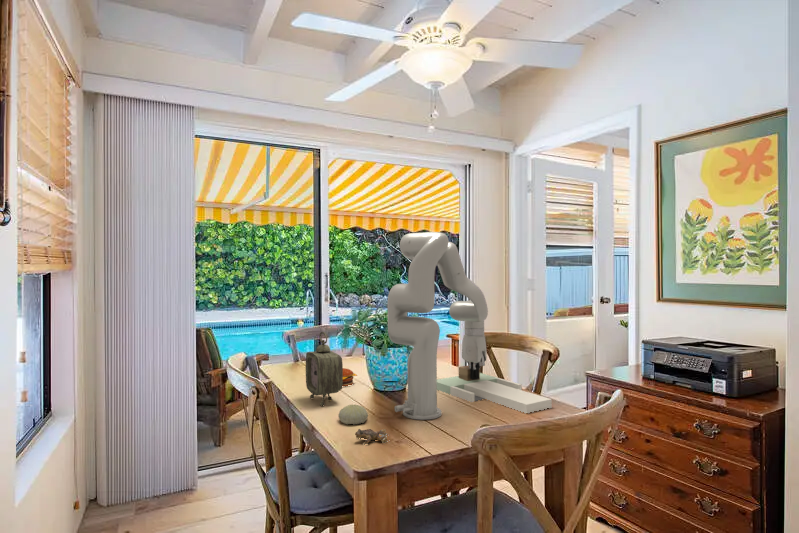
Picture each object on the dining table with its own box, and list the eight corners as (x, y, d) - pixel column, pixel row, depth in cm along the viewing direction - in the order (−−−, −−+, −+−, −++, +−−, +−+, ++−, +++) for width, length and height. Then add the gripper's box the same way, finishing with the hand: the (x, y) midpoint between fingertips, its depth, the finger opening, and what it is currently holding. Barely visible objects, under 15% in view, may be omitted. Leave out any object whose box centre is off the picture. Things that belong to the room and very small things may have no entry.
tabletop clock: (305, 398, 179) (305, 330, 179) (329, 395, 184) (328, 328, 184) (319, 408, 167) (319, 335, 166) (344, 404, 171) (343, 333, 171)
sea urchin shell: (342, 422, 147) (338, 398, 152) (339, 434, 152) (336, 411, 158) (371, 419, 149) (367, 396, 155) (367, 431, 155) (363, 408, 160)
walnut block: (467, 381, 192) (467, 369, 192) (458, 377, 198) (458, 366, 198) (479, 379, 195) (479, 368, 195) (470, 376, 201) (470, 365, 201)
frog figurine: (362, 452, 129) (362, 438, 129) (346, 438, 140) (346, 424, 140) (401, 445, 134) (401, 431, 134) (383, 431, 145) (383, 418, 145)
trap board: (512, 417, 157) (512, 407, 157) (431, 387, 194) (431, 380, 194) (564, 404, 170) (564, 396, 170) (479, 379, 207) (479, 372, 207)
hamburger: (340, 381, 206) (340, 365, 206) (358, 384, 201) (358, 368, 201) (325, 385, 198) (325, 369, 198) (343, 389, 193) (343, 372, 193)
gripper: (455, 330, 195) (455, 376, 196) (479, 335, 183) (480, 384, 183) (469, 329, 199) (469, 374, 200) (494, 333, 187) (495, 381, 187)
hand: (474, 378), depth 191 cm, fingers closed
